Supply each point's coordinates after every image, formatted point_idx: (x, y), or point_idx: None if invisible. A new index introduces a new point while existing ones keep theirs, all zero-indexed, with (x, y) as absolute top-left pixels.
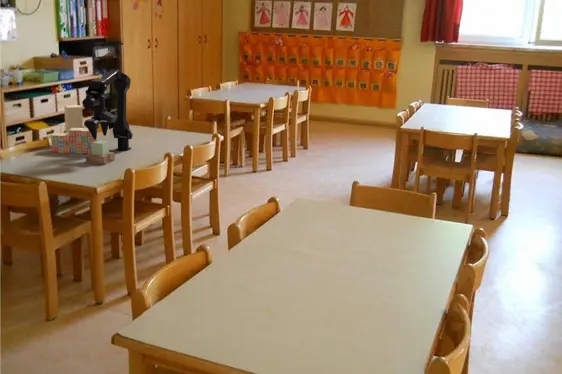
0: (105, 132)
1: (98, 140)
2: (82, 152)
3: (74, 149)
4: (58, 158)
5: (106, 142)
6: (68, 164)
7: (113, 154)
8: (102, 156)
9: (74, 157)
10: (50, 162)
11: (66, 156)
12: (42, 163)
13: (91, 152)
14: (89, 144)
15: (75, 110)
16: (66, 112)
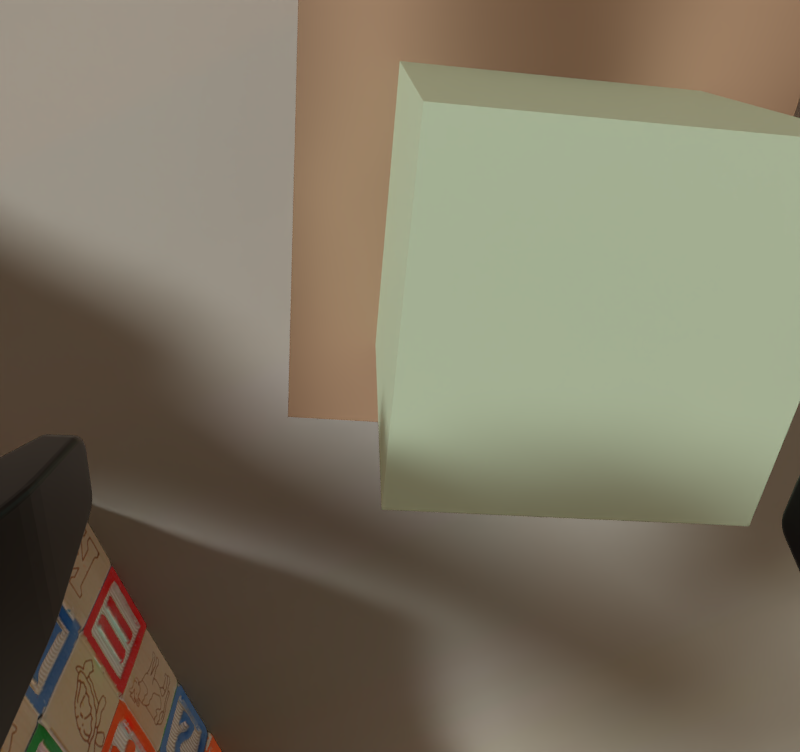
0: (21, 526)
1: (428, 470)
2: (140, 632)
3: (171, 741)
4: (502, 719)
5: (589, 116)
6: (764, 524)
7: None
8: (773, 63)
9: (393, 611)
10: (698, 708)
11: (382, 696)
12: (753, 745)
13: (83, 538)
14: (39, 665)
15: None
16: None
